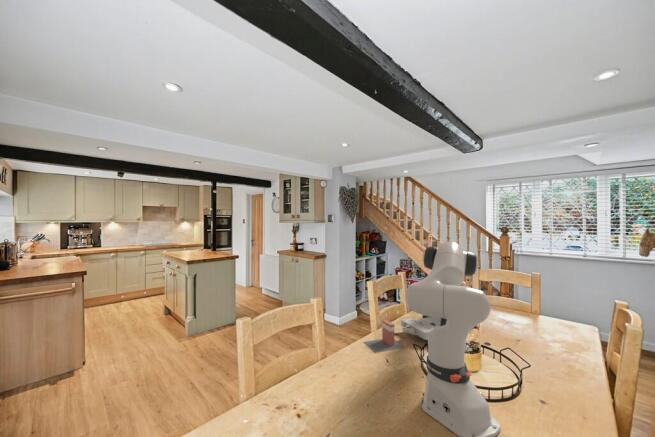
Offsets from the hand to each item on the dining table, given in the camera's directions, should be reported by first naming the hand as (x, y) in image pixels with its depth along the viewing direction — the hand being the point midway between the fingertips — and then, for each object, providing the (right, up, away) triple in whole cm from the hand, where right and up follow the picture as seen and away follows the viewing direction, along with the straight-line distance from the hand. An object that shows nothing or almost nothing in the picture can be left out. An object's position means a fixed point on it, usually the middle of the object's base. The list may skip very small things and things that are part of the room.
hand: (404, 330), depth 135 cm
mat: (-11, -5, -5) cm, 13 cm away
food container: (+24, -6, +27) cm, 36 cm away
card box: (-9, -5, -3) cm, 11 cm away
